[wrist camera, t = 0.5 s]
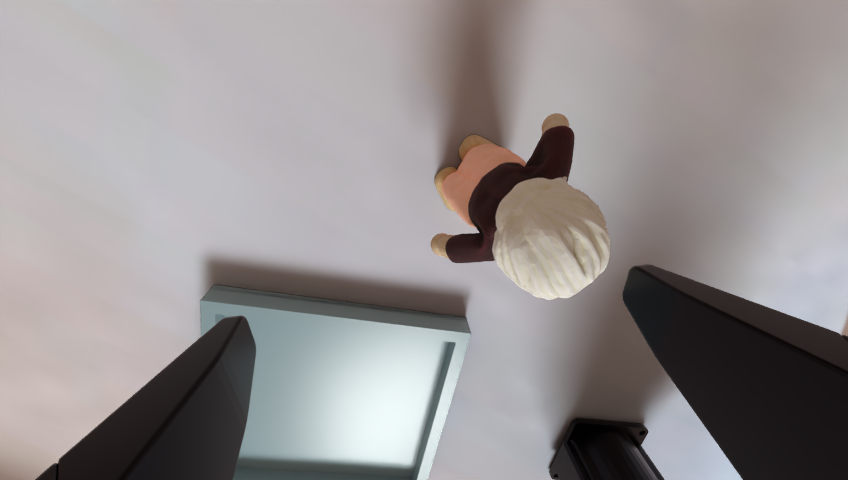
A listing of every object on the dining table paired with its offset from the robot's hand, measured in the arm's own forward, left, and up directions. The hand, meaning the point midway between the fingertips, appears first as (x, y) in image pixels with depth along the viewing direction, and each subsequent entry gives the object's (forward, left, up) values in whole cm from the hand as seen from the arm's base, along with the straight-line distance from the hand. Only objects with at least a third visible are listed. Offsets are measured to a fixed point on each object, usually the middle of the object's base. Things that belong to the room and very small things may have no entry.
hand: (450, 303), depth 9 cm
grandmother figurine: (-3, -1, -14) cm, 14 cm away
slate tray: (+3, +17, -14) cm, 22 cm away
